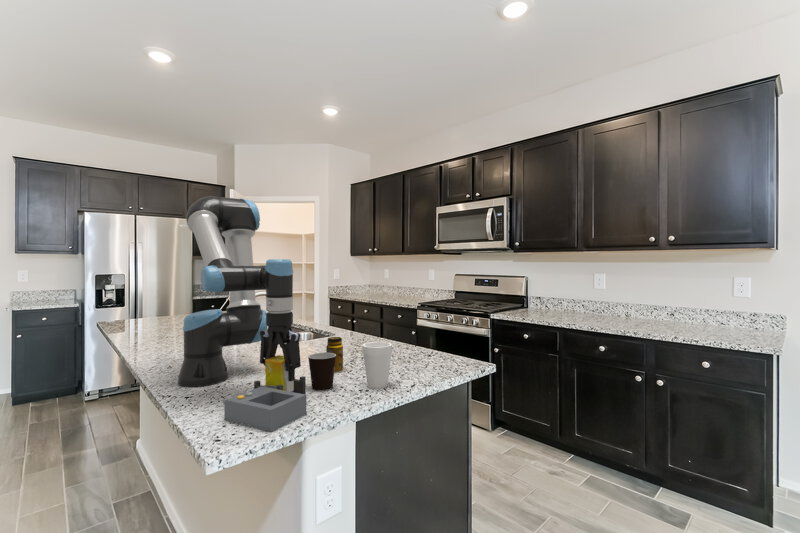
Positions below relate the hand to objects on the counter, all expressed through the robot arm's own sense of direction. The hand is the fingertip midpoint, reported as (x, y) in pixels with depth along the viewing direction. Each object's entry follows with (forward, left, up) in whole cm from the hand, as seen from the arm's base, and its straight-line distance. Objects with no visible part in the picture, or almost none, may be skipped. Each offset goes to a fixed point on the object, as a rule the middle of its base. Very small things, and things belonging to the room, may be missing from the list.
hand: (279, 389), depth 114 cm
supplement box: (0, 0, -2) cm, 2 cm away
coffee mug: (+5, +14, -2) cm, 15 cm away
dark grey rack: (0, 0, -2) cm, 2 cm away
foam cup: (+20, +22, -2) cm, 30 cm away
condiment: (-4, +30, -2) cm, 30 cm away
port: (+8, -13, -2) cm, 16 cm away
